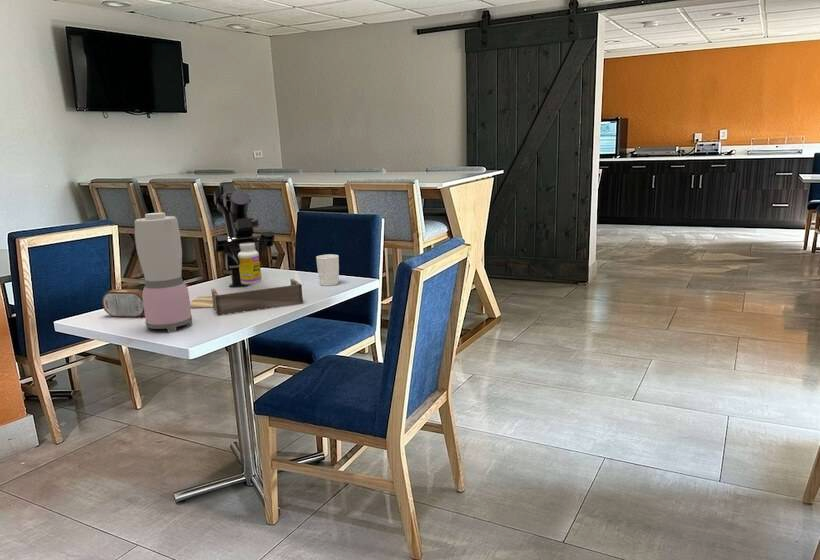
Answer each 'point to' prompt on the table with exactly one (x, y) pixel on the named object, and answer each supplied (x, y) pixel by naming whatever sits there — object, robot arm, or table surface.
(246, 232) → the robot arm
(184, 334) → the table surface
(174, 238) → the blender
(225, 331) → the table surface
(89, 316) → the table surface
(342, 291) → the table surface
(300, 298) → the cubby
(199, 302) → the coaster
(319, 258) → the white cup
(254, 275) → the supplement bottle
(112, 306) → the tin
